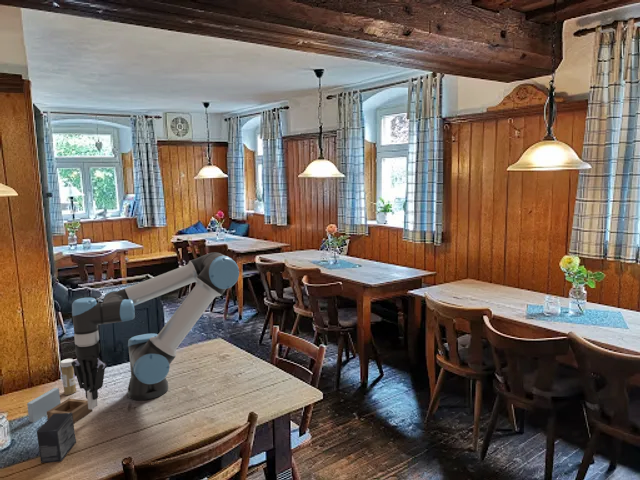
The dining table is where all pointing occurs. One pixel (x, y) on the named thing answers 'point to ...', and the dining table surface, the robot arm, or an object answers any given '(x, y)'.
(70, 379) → the sprinkles bottle
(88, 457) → the dining table surface
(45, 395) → the board
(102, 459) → the dining table surface
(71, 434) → the small box
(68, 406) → the socket block
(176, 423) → the dining table surface
